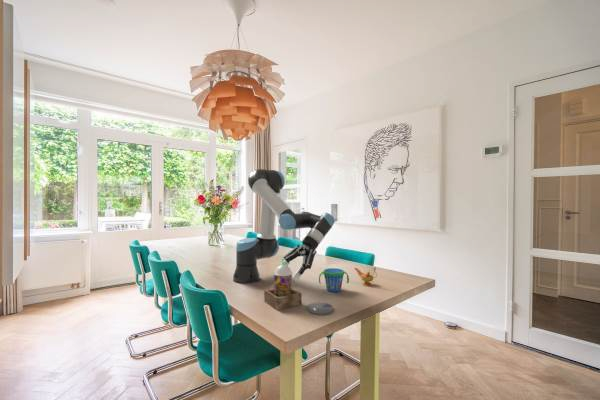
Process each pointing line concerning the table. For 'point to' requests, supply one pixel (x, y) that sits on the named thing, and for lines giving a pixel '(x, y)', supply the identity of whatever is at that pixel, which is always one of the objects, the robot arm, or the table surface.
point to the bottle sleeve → (282, 299)
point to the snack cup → (333, 279)
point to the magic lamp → (366, 277)
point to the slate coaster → (320, 308)
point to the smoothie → (282, 280)
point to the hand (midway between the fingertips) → (286, 275)
